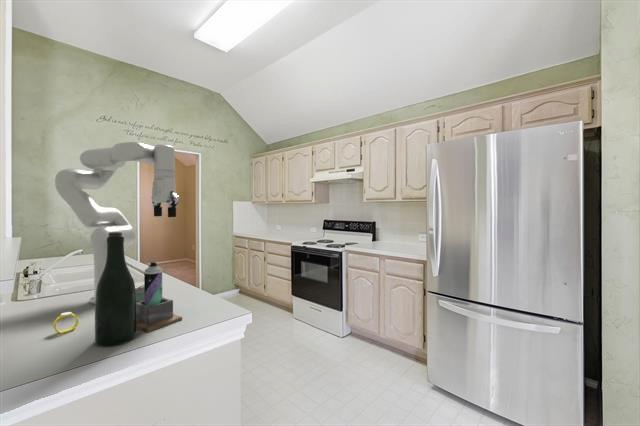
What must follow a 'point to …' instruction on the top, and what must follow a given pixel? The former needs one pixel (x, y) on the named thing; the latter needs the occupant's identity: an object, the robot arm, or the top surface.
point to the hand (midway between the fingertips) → (164, 216)
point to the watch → (65, 316)
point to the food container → (139, 294)
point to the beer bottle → (115, 297)
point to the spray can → (153, 285)
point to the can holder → (155, 315)
